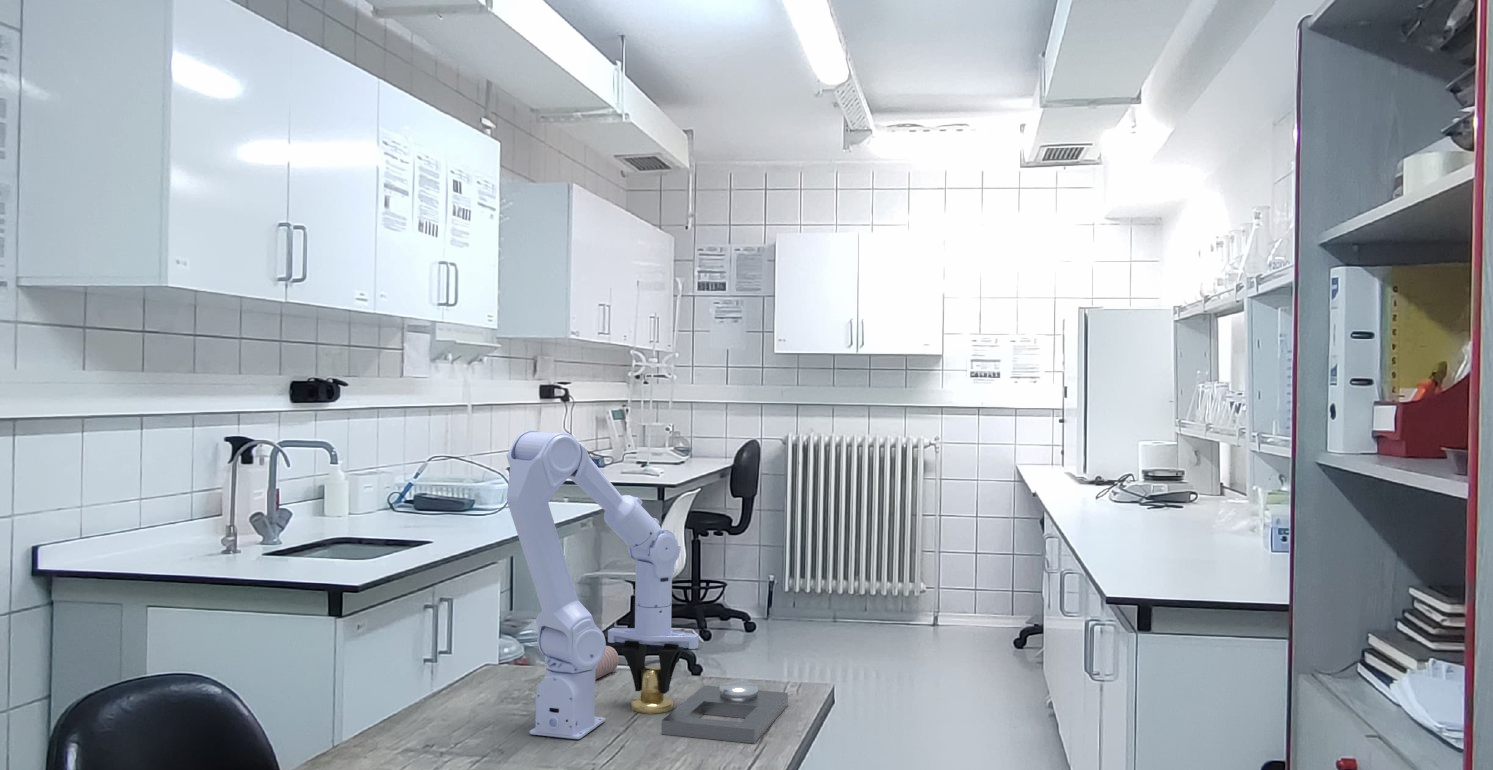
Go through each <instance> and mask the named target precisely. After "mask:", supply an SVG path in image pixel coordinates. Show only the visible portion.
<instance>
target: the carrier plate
mask: <svg viewBox="0 0 1493 770" xmlns="http://www.w3.org/2000/svg"><path fill="white" fill-rule="evenodd" d="M788 706H789V692H785V691H782V692H781V691H773V690H771V691H770V690H762V689H761V690H760V689H759V686H758V684H757V683H754V682H751V681H745V680H731V681H726V682H723V683H720V684H719V686H716V685H707V684H706V685H705V684H704V685H703V686H702V687H700V688H699V689H698V690H697V691H695V693H693V694H692V695H690V696H689V697H688V698H687V699H686V700H685V701H683V702H682V703H681V704H680V705H678V706H677V707H676V708H675V709H674V710H672V711H671V712H670V713H669V714H667V715H666V716H665V717H664V718H663V719H662V720H661V735H667V736H676V737H687V738H695V739H703V740H704V739H706V740H713V741H714V740H716V741H725V742H736V743H745V744H756V742H757V741H758V740H759V739H760V738H761V737H762V735H763V734H764V733H765V732H766V731H767V730H768V729H769V728H770V726H771V725H772V724H773V723H774V722H775V720H777V718H778V717H779V716H781V714H782V713H783V712H784V711H785V709H786V708H787V707H788ZM704 715H708V716H719V717H726V718H727V717H730V718H740V719H743V720H742V721H732V720H724V719H714V718H713V719H711V718H704V717H703V718H701V717H702V716H704Z"/></svg>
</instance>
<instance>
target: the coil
mask: <svg viewBox="0 0 1493 770" xmlns="http://www.w3.org/2000/svg"><path fill="white" fill-rule="evenodd" d="M619 661H620V658H619V654H618V652H617V651H616V649H615V648H614V647H612V646H610V645H606V647H605V652H604V655H603V657H602V659H601V660H600V662H599V663H598V664H597V669H595V681H596V680H598V679H599V678H602V677H604V676H606V675H608V674H610V673H612V672H614V671H615V670H616V669H617V667H618V665H619Z"/></svg>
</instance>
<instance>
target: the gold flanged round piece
mask: <svg viewBox="0 0 1493 770" xmlns="http://www.w3.org/2000/svg"><path fill="white" fill-rule="evenodd" d="M660 678H661V670H660V665H654V664H653V665H652V664H651V665H645V666H644V667H642V668H641V691H640V695H637V696H635V697H632V699H631V703H630V705H631V706H630V707H631V710H632V711H634V712H635V713H639V714H647V715H657V714H662V713H663V714H664V713H667V712H670V711H671V710H672V711H673V708H674V700H673V697H671V696H669V695H665V694H662V693H661V692H660Z"/></svg>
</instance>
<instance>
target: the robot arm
mask: <svg viewBox="0 0 1493 770" xmlns="http://www.w3.org/2000/svg"><path fill="white" fill-rule="evenodd" d="M506 459H507V461H508V464H509V473H508V483H507V494H506V500H507V501H506V502H507V506H508V508H509V512H510V515H511V518H512V520H513V523H514V527H515V530H516V533H517V537H518V540H519V543H520V546H521V550H522V552H523V555H524V558H525V561H526V564H527V567H528V571H529V574H530V577H531V580H532V583H533V587H534V591H535V593H536V596H537V599H538V601H539V604H540V607H541V611H540V612H539V613H538V615H537V616H536V618H535V621H536V626H537V642H536V643H537V648H538V650H539V651H540V653H541V654H542V656H544V664H545V666H546V668H545V669H546V670H545V675H544V678H543V680H541V682H539V685H538V686H537V687H536V691H535V727H533V728H532V729H530V730H529V734H530V735H534V736H536V735H537V736H543V737H544V736H546V737H553V738H562V739H572V740H573V739H574V740H581V739H582V738H583V737H585V736H586V735H588V733H590V732H591V731H593V730H594V729H596V728H597V727H599V726H600V725H601V724H603V723H605V721H606V718H605V717H601V716H600V717H599V716H596V680H595V669H597V664H598V663H599V662H600V660H601V659H602V657H603V655H604V652H605V647H606V646H607V644H606V643H607V642H608V643H612V644H613V643H614V644H615V643H624V645H623V647H622V648H621V653H622V655H623V657H624V658H625V660H626V662H627V663H626V664H627V665H628V668H629V670H630V672H631V677H632V680H633V683H634V690H635V692H641V668H642V667H644V666H646V665H645V664H646V653H647V649H648V648H647V647H648V646H649V645H651V646H663V647H662V648H660V649H658V658H659V666H660V670H661V678H660V692H661V693H662V694H664V695H665V694H666V693H668V692H670V685H671V681H672V677H673V674H674V670H675V669H676V666H677V664H678V660H679V658H680V657H681V654H682V652H683V650H684V648H688V649H690V650H695V649H697V648H698V647H699V639H700V638H699V634H698V633H689V632H683V631H680V630H679V631H678V630H674V629H673V630H672V605H673V604H672V603H673V601H672V598H673V596H672V595H673V593H672V591H673V589H672V588H673V575H674V574H675V565H676V562H677V560H678V559H679V556H680V553H681V550H682V549H681V548H682V547H681V546H680V545H679V543H678V539H677V538H676V536H675V534H674V533H673V532H672V531H671V530H668V529H664V528H662V527H661V526H660V521H659V519H657V518H656V517H653V516H651V515H650V513H649V512H648V511H647V510H646V509H645V508H644V507H643V506H642V505H643V501H642V500H641V499H640V498H639V497H637V496H632V495H629V494H624V495H621V493H620V492H619V491H618V490H617V489H616V487H615V486H614V484H613V483H611V480H609V479H608V478H607V476H606V475H605V474H604V473H603V472H602V470H601V469H600V468H599V467H598V466H597V464H596V463H595V462H594V461H593V460H592V458H591V457H590V455H589V452H588V449H587V448H586V447H585V446H583V445H582V444H580V443H579V441H578V440H577V439H576V437H575V436H573V435H572V434H570V433H568V432H557V433H553V432H543V431H542V432H540V431H537V430H527V431H524V432H522V433H520V434H519V435H517V437H516V438H515V440H514V441H513V443H512V445H511V447H510V449H509V450H508V452H507V453H506ZM568 479H569V480H571V481H572V482H573V483H575V485H577V486H578V487H579V488H580V489H581V490H582V491H583V492H584V493H585V494H586V495H587V496H588V497H589V498H591V499H592V500H593V501H594V502H595V503H596V504H597V505H598V506H599V507H601V509H603V510H604V514H603V520H604V522H605V524H606V525H607V526H608V527H609V528H610V529H611V530H612V531H613V532H614V533H615V534H616V535H617V536H618V537H619V539H621V540H622V542H624V543H625V545H626V546H627V552H628V553H627V554H628V556H629V558H631V559H632V560H634V561H635V596H634V599H635V601H634V603H635V604H634V627H633V628H631V627H629V628H628V627H627V628H623V627H621V628H620V627H619V628H618V627H612V628H610V629H608V630H607V642H606V637H605V635H604V632H603V631H602V630H601V629H600V628H599V627H598V626H597V625H596V623H595V621H594V617H593V615H592V613H590V611H589V610H588V609H587V608H586V607H585V606H584V605H583V604H582V603H581V602H580V600H579V598H578V594H577V591H576V589H575V585H574V581H573V578H572V576H571V572H570V569H569V565H568V563H567V559H566V556H565V553H564V549H563V546H562V543H561V540H560V537H559V534H558V530H557V527H556V524H555V521H554V517H553V515H552V512H551V508H550V504H549V502H550V500H551V499H552V496H553V495H554V494H555V493H556V492H557V491H558V490H559V488H561V487H562V485H564V483H565V482H566V481H567V480H568Z"/></svg>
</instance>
